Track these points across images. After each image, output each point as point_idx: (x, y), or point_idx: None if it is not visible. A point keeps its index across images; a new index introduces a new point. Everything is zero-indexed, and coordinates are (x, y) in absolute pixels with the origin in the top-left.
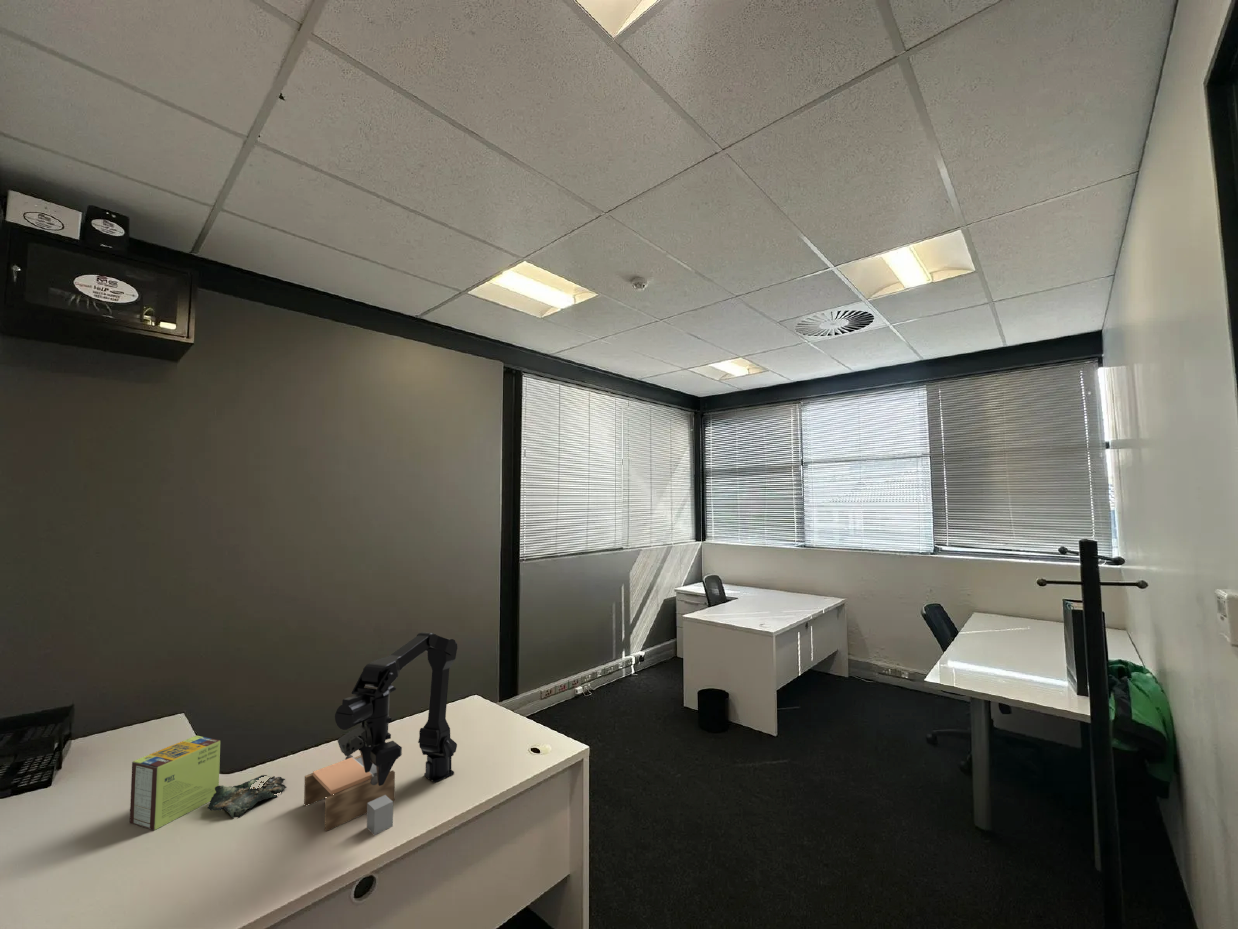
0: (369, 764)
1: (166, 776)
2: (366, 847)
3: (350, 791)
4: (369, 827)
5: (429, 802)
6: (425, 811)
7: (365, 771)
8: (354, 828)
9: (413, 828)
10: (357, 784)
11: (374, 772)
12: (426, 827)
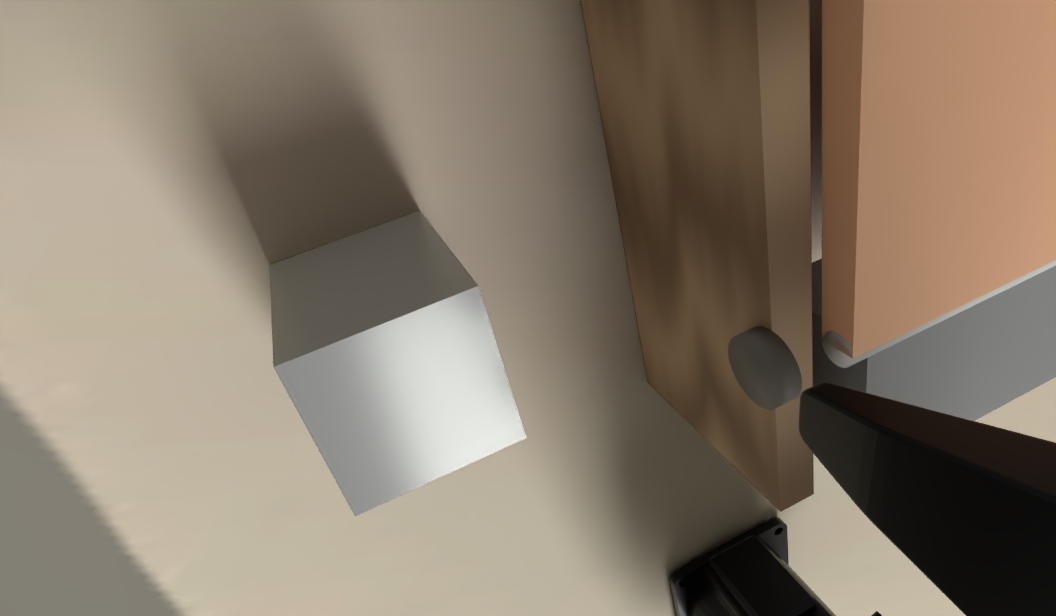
0: (890, 503)
1: None
2: (95, 202)
3: (752, 127)
4: (372, 236)
5: (493, 571)
6: (403, 563)
7: (819, 399)
8: (464, 116)
9: (224, 519)
10: None
11: (882, 366)
12: (192, 593)
